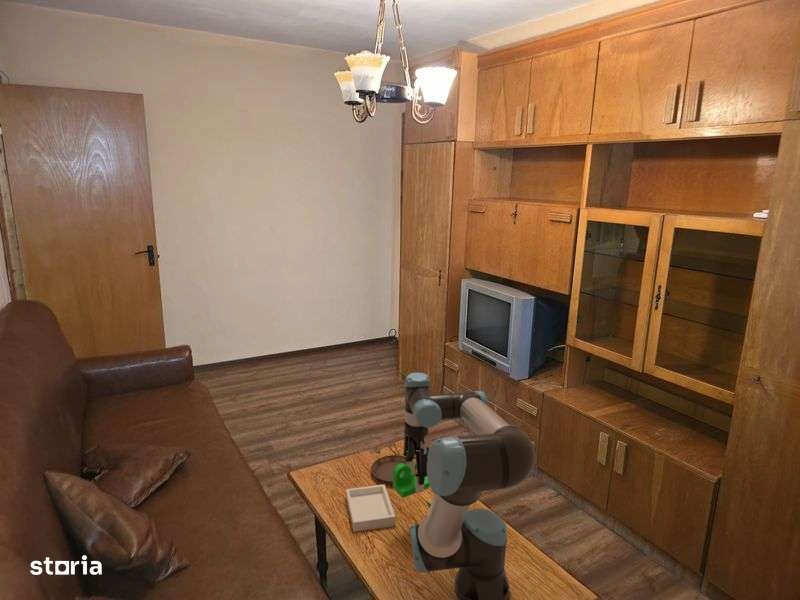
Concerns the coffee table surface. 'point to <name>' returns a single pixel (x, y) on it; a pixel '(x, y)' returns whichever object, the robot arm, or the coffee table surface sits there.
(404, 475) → the mechanical part
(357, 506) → the tray
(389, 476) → the plant saucer
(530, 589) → the coffee table surface
